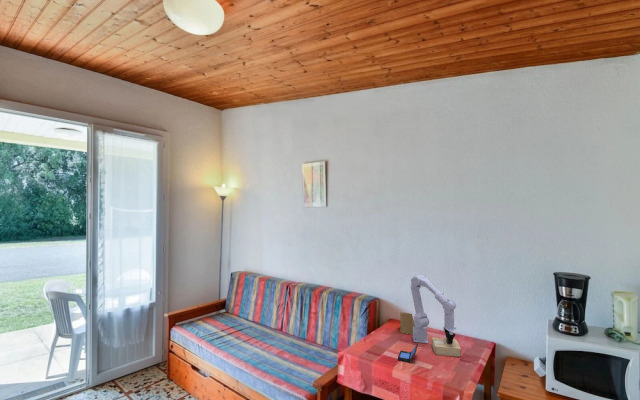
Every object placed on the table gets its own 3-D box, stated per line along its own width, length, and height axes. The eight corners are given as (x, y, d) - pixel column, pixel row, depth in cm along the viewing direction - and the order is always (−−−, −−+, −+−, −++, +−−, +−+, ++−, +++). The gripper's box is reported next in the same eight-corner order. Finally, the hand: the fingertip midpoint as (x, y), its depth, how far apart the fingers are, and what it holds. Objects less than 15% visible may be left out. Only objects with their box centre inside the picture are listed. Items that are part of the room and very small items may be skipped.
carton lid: (435, 347, 197) (435, 340, 197) (431, 338, 211) (431, 332, 211) (460, 349, 194) (460, 343, 194) (456, 340, 208) (456, 334, 208)
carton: (435, 354, 197) (435, 347, 197) (431, 345, 211) (431, 338, 211) (460, 357, 194) (460, 349, 194) (455, 347, 208) (456, 340, 208)
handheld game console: (400, 352, 200) (400, 340, 201) (418, 355, 196) (418, 343, 196) (397, 360, 189) (397, 348, 189) (415, 364, 185) (415, 351, 185)
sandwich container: (416, 327, 241) (416, 307, 242) (412, 334, 228) (412, 313, 228) (404, 325, 245) (404, 306, 245) (400, 332, 231) (400, 312, 232)
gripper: (458, 324, 194) (458, 347, 194) (453, 316, 209) (453, 337, 208) (446, 323, 196) (446, 346, 196) (442, 315, 210) (442, 336, 210)
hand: (449, 341), depth 202 cm, fingers open, 6 cm apart
